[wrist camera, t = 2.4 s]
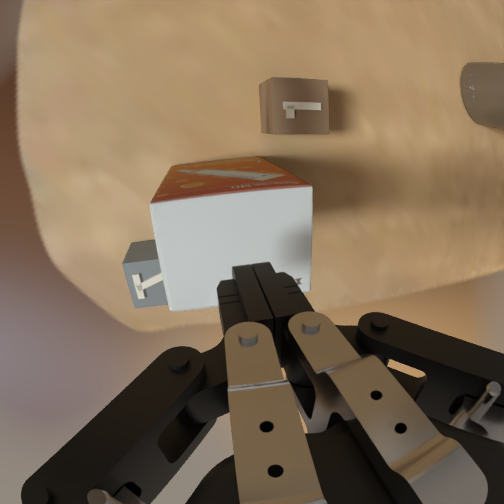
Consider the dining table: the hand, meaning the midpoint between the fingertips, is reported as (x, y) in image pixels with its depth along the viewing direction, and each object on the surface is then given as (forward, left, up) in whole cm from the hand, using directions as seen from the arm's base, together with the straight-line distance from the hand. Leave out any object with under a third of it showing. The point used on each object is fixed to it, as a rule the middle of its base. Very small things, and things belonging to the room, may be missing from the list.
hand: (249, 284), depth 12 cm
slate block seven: (+6, +6, -16) cm, 18 cm away
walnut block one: (-7, -7, -16) cm, 19 cm away
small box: (0, 0, -16) cm, 16 cm away
